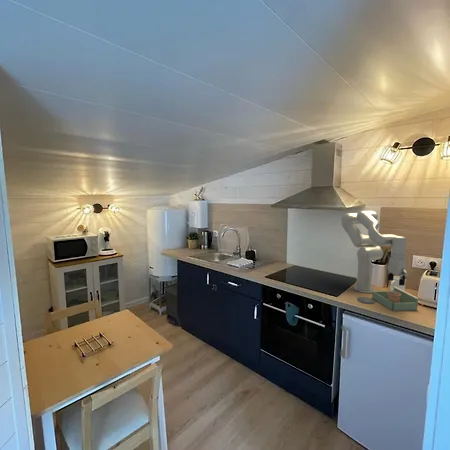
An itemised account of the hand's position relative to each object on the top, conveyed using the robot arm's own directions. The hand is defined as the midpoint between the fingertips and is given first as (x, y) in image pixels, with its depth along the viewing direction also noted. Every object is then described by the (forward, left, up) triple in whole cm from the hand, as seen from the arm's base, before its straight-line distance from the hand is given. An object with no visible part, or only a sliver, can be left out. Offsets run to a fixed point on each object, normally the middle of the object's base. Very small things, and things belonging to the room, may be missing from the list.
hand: (396, 282), depth 166 cm
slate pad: (-6, -15, -14) cm, 21 cm away
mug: (-19, +15, -14) cm, 28 cm away
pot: (-1, 0, -14) cm, 14 cm away
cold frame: (-1, 0, -14) cm, 14 cm away
